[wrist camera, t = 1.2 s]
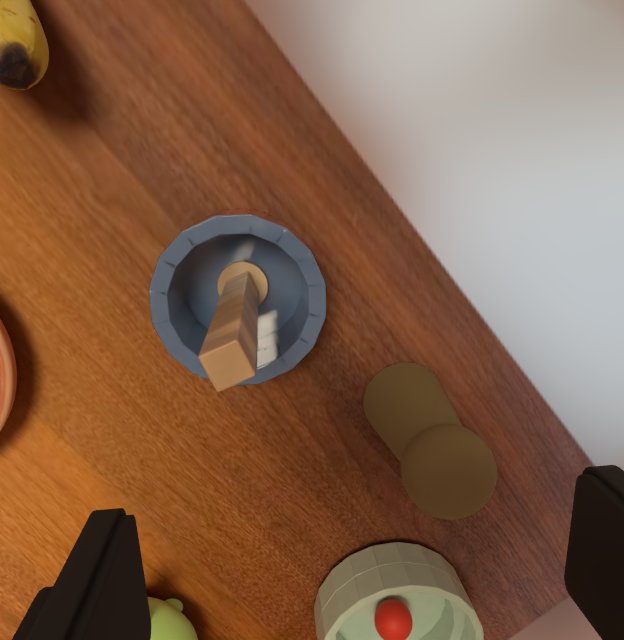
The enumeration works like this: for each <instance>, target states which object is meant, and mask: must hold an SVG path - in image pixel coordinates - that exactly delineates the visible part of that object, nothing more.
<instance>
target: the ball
mask: <svg viewBox="0 0 624 640" xmlns="http://www.w3.org/2000/svg"><path fill="white" fill-rule="evenodd" d="M374 623H375V628H376V630H377V632H378V634H379V635H380V636H381V638H383V639H384V640H406V639H407V638H408V636H409V635H410V633H411V631H412V626H413V620H412V615H411V613H410V611H409V609H408V608H407V606H406V605H405V604H404V603H402V602H401V601H399V600H395V599H388V600H385V601H383V602H382V603H381V604H380V605H379V606H378V607H377V609H376V612H375V616H374Z"/></svg>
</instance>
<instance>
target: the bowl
mask: <svg viewBox="0 0 624 640" xmlns="http://www.w3.org/2000/svg"><path fill="white" fill-rule="evenodd" d="M388 599H395V600H399V601H401V602H402V603H404V604H405V605H406V606H407V608H408V609H409V611H410V613H411V615H412V620H413V626H412V631H411V633H410V635H409V636H408V638H407V639H406V640H483V628H482V626H481V623H480V621H479V619H478V617H477V614H476V612H475V610H474V608H473V606H472V604H471V602H470V600H469V598H468V596H467V594H466V592H465V590H464V588H463V586H462V583H461V581H460V579H459V577H458V575H457V573H456V571H455V569H454V568H453V567H452V566H451V565H450V564H449V563H448V562H447V561H446V560H445V559H444V558H443V557H442V556H441V555H440V554H438V553H436V552H434V551H432V550H430V549H428V548H425V547H423V546H421V545H419V544H410V543H402V542H393V543H387V544H380V545H374V546H373V547H372V546H370V547H368V548H366V549H363V550H361V551H359V552H357V553H354V554H352V555H350V556H348V557H347V558H346V559H344V560H343V561H342V562H341V563H340V564H338V565H337V566H336V567H335V568H333V569H332V570H331V572H330V573H329V575H328V576H327V578H326V579H325V581H324V582H323V584H322V585H321V587H320V589H319V590H318V594H317V598H316V602H315V605H314V615H315V623H316V632H317V640H384V639H383V638H381V636H380V635H379V634H378V632H377V630H376V628H375V623H374V616H375V612H376V609H377V607H378V606H379V605H380V604H381V603H382V602H383V601H385V600H388Z"/></svg>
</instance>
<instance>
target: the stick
mask: <svg viewBox="0 0 624 640" xmlns="http://www.w3.org/2000/svg"><path fill="white" fill-rule="evenodd" d="M217 288H218V293H219V296H220V299H219V302H218V305H217V307H216V310H215V313H214V316H213V318H212V321H211V324H210V326H209V329H208V332H207V334H206V337H205V340H204V342H203V345H202V348H201V350H200V353H199V356H198V359H199V360H200V362H201V364H202V366H203V368H204V370H205V371H206V373H207V375H208V377H209V379H210V380H211V382H212V384H213V386H214V388H215V390H216V391H217V392H220V391H222V390H225V389H227V388H229V387H231V386H234V385H236V384H238V383H240V382H242V381H245V380H247V379H249V378H251V377H253V376H255V372H256V349H257V327H258V306H259V305H260V304H261V303H262V302H263V301H264V299H265V297H266V295H267V291H268V281H267V277H266V274H265V273H264V271H263V270H262V268H261V267H260V266H258V265H257V264H255V263H253V262H251V261H247V260H238V261H235V262H232V263H230V264H229V265H227V266H226V267H225V268H224V269H223V271H222V272H221V274H220V276H219V279H218V284H217Z"/></svg>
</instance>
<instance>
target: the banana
mask: <svg viewBox="0 0 624 640" xmlns="http://www.w3.org/2000/svg"><path fill="white" fill-rule="evenodd" d="M48 62H49V50H48V44H47V40H46V37H45V34H44V31H43V28H42V26H41V23H40V21H39V19H38V16H37V14H36V12H35V10H34V8H33V6H32V4H31V1H30V0H0V87H2V88H7V89H11V90H27V89H29V88H31V87H32V86H33V85H35V84H37V83H38V82H39V81H40V80H41V78H42V77H43V76H44V74H45V72H46V70H47V67H48Z"/></svg>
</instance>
